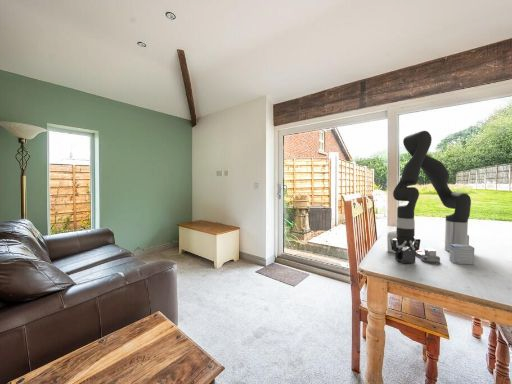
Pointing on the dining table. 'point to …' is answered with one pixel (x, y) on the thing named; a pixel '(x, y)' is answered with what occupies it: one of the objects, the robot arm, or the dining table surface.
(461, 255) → the medicine box
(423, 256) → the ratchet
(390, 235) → the photo printer
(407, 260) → the dark grey metal cube
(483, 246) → the dining table surface
